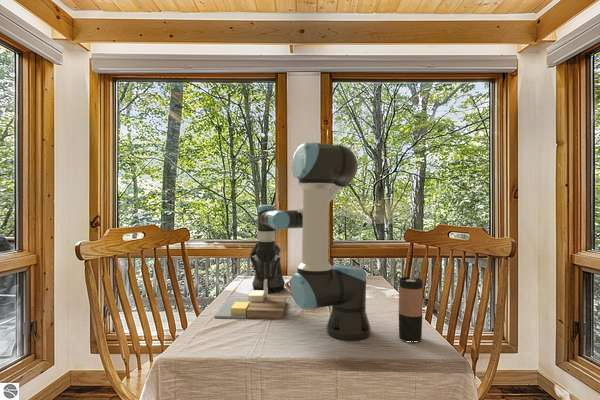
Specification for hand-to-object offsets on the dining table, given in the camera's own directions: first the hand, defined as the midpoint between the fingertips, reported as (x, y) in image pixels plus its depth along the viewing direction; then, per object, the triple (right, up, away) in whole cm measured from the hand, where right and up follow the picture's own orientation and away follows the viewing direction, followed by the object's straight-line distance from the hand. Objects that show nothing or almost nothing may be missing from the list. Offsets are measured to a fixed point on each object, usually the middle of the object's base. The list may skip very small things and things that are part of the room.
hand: (265, 295), depth 163 cm
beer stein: (-3, -5, +29) cm, 30 cm away
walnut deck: (+1, -5, -6) cm, 8 cm away
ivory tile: (-4, -2, 0) cm, 4 cm away
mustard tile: (-9, -4, -11) cm, 15 cm away
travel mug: (+52, -6, -37) cm, 64 cm away
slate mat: (-12, -5, -5) cm, 14 cm away
